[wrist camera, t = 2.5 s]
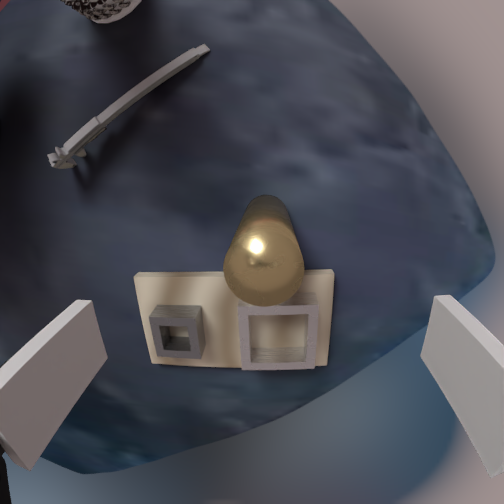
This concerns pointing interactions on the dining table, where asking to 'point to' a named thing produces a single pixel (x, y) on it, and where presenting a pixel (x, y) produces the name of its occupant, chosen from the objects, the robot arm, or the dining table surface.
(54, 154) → the caliper
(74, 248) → the dining table surface
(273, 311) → the fitting board
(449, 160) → the dining table surface
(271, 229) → the brass cylinder
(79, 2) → the decorative candle
